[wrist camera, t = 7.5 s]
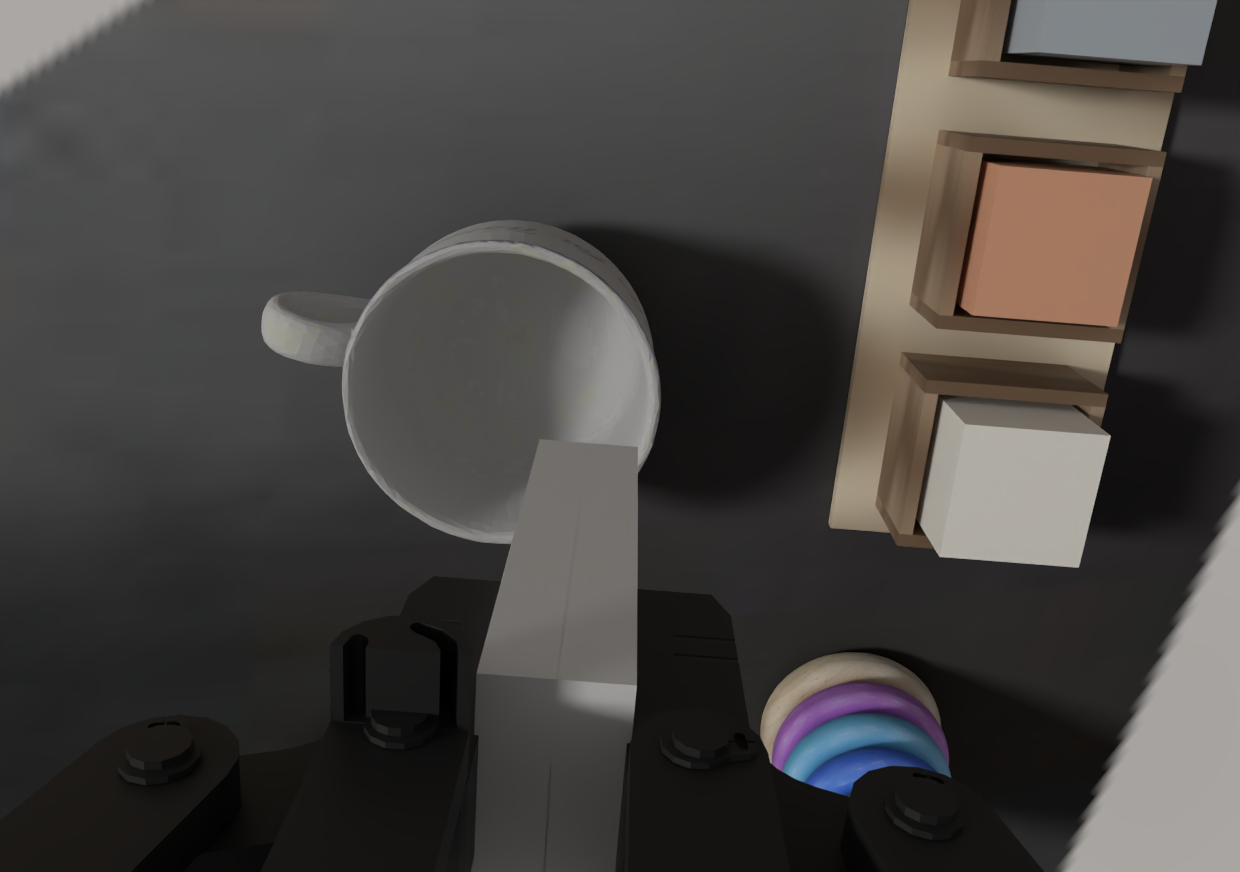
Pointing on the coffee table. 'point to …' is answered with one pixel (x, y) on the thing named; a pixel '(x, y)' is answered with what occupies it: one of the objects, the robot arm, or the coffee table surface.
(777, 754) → the stacking toy
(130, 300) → the coffee table surface
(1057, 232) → the button terracotta
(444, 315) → the teacup
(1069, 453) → the button cream
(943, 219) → the button board
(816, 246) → the coffee table surface
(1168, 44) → the button slate
